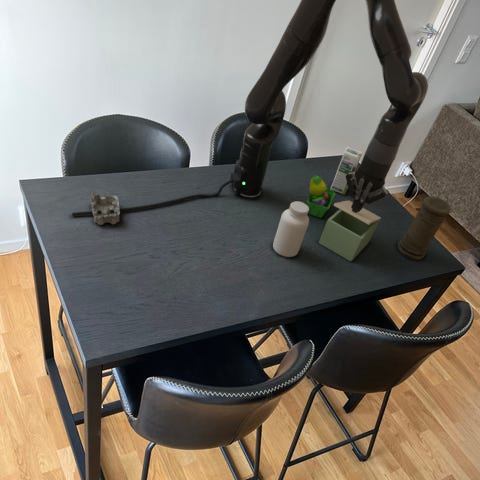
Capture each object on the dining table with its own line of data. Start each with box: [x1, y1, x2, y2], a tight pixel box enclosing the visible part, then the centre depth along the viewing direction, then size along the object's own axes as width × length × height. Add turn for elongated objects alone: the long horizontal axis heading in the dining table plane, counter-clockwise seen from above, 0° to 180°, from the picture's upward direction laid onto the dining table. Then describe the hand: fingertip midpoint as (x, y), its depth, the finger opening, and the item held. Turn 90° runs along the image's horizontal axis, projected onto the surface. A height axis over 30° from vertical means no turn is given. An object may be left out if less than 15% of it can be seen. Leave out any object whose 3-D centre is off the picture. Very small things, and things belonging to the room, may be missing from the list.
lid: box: [333, 199, 382, 225], centre depth 137 cm, size 14×12×1 cm
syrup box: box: [329, 146, 363, 196], centre depth 162 cm, size 6×6×14 cm
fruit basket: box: [306, 175, 336, 219], centre depth 151 cm, size 11×9×11 cm
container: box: [397, 195, 452, 261], centre depth 143 cm, size 9×9×18 cm
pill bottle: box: [272, 200, 310, 258], centre depth 132 cm, size 8×8×15 cm
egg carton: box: [90, 192, 121, 226], centre depth 131 cm, size 11×8×4 cm
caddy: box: [318, 209, 381, 262], centre depth 142 cm, size 14×12×9 cm
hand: (355, 211), depth 133 cm, fingers closed
